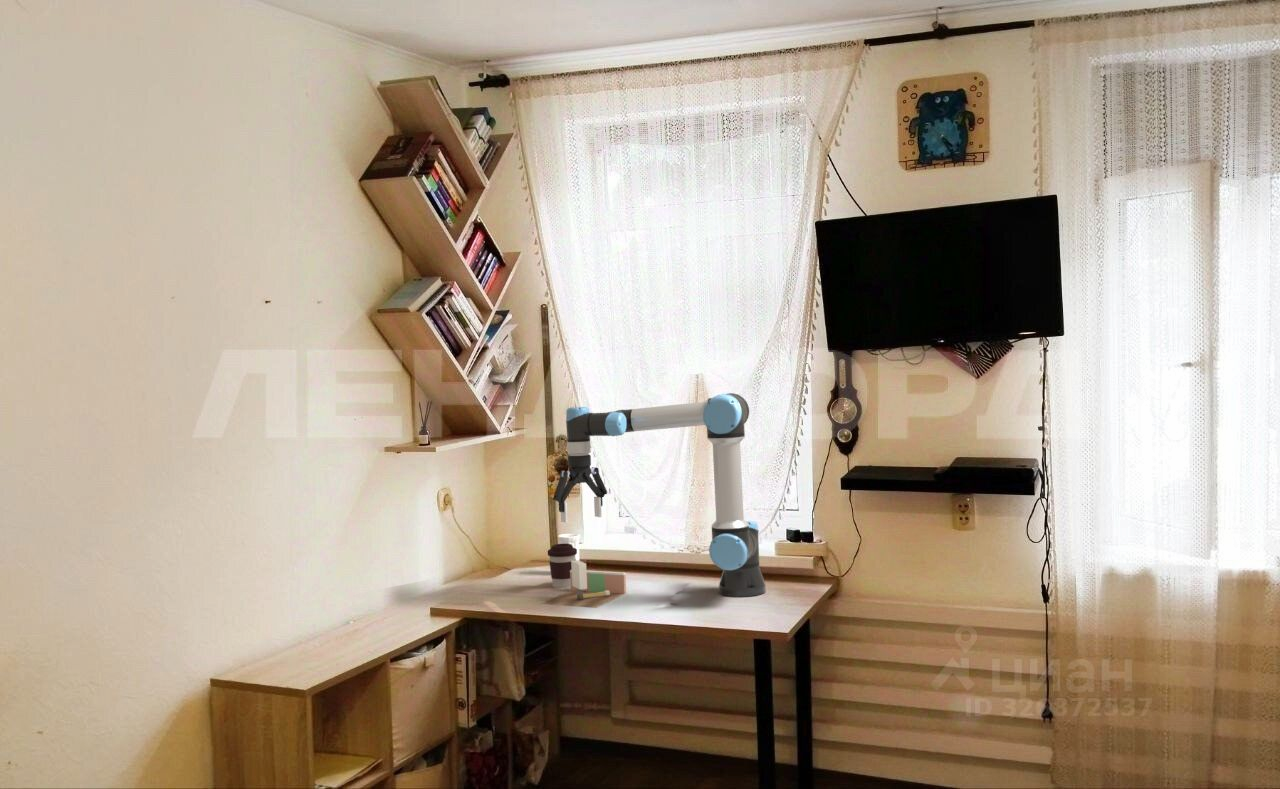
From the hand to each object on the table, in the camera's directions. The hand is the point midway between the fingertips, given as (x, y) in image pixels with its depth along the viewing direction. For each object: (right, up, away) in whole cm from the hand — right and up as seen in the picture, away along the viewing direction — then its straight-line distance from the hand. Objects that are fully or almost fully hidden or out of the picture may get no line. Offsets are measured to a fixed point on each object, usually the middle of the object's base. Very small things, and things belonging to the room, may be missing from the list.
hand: (581, 519), depth 331 cm
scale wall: (+5, -24, +2) cm, 25 cm away
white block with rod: (+4, -24, -7) cm, 25 cm away
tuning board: (+1, -26, -6) cm, 26 cm away
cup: (-6, -25, +38) cm, 46 cm away
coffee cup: (-7, -26, +14) cm, 30 cm away
